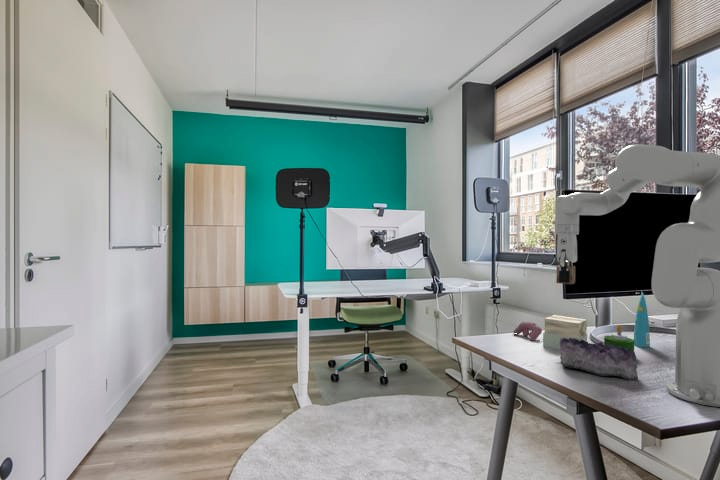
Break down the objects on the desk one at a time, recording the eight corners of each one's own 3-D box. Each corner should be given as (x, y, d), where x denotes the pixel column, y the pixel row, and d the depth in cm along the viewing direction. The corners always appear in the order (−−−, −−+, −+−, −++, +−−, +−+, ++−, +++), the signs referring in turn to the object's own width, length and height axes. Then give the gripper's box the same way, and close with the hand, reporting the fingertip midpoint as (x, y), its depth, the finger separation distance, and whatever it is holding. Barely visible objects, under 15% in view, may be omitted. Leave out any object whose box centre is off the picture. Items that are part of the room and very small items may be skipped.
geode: (639, 373, 112) (641, 340, 110) (636, 390, 103) (638, 355, 101) (561, 356, 124) (562, 326, 123) (552, 370, 115) (554, 338, 114)
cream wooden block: (578, 338, 131) (578, 323, 131) (544, 332, 139) (544, 318, 139) (586, 333, 137) (586, 319, 137) (553, 328, 145) (553, 314, 145)
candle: (603, 350, 134) (604, 321, 134) (632, 354, 129) (633, 324, 129) (604, 356, 127) (604, 325, 126) (635, 361, 122) (636, 329, 122)
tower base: (581, 353, 130) (581, 338, 130) (543, 346, 138) (543, 332, 138) (586, 347, 138) (587, 333, 138) (550, 341, 146) (550, 327, 145)
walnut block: (572, 284, 134) (572, 266, 134) (556, 283, 137) (556, 266, 137) (575, 283, 138) (575, 266, 138) (559, 281, 141) (559, 265, 141)
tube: (632, 342, 144) (633, 290, 144) (648, 344, 142) (649, 291, 141) (634, 347, 138) (635, 293, 137) (651, 349, 135) (652, 294, 135)
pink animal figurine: (539, 344, 145) (545, 327, 146) (531, 340, 144) (537, 322, 145) (519, 338, 154) (525, 321, 155) (511, 333, 153) (517, 317, 154)
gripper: (574, 229, 128) (573, 284, 129) (583, 230, 142) (582, 280, 142) (549, 229, 133) (548, 282, 133) (560, 230, 146) (559, 278, 147)
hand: (565, 281), depth 138 cm, fingers closed on walnut block, 5 cm apart
